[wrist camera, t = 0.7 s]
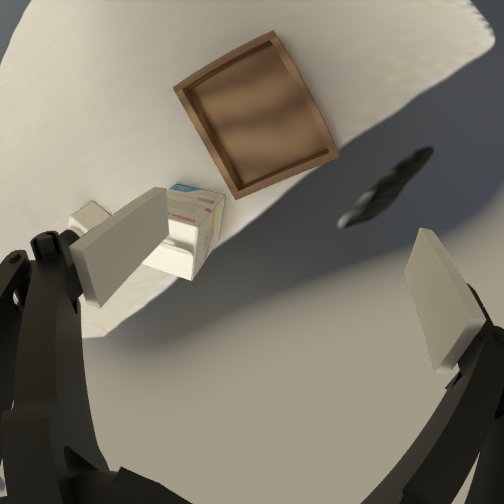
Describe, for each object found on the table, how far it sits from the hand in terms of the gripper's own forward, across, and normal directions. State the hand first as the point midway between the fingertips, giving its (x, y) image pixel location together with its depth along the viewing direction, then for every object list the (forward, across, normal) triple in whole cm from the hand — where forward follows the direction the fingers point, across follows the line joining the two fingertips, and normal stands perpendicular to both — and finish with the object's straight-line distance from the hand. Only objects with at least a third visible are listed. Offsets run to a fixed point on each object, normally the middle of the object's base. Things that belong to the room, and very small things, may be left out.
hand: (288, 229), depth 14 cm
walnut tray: (+27, -7, +4) cm, 28 cm away
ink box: (+27, -16, -12) cm, 34 cm away
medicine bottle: (+27, -38, -17) cm, 49 cm away
